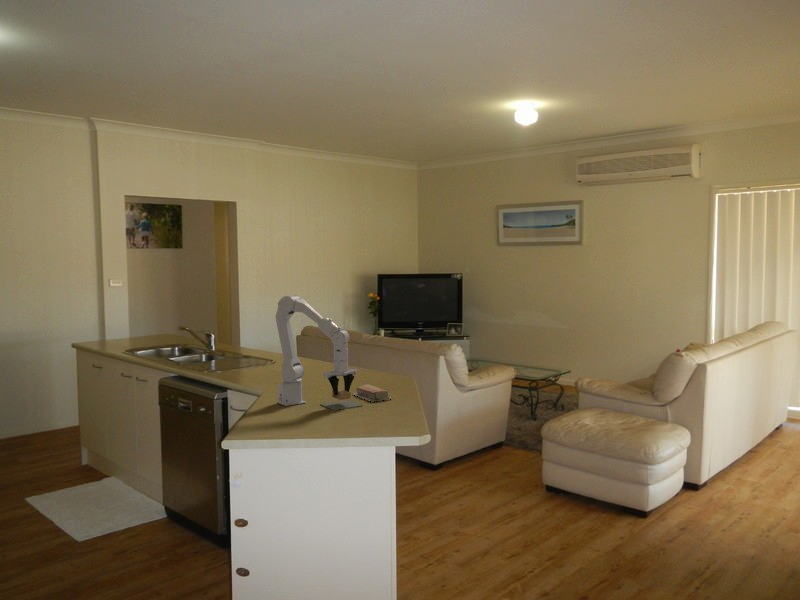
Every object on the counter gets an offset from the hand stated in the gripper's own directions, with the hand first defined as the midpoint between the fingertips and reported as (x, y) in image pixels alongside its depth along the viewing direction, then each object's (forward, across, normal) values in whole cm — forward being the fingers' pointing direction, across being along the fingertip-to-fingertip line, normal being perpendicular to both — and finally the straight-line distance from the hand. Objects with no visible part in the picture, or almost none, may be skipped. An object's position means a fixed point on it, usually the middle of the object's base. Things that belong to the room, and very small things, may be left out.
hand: (341, 393), depth 262 cm
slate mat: (+5, 0, 0) cm, 5 cm away
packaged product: (+6, +18, +6) cm, 20 cm away
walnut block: (+2, 0, 0) cm, 2 cm away
